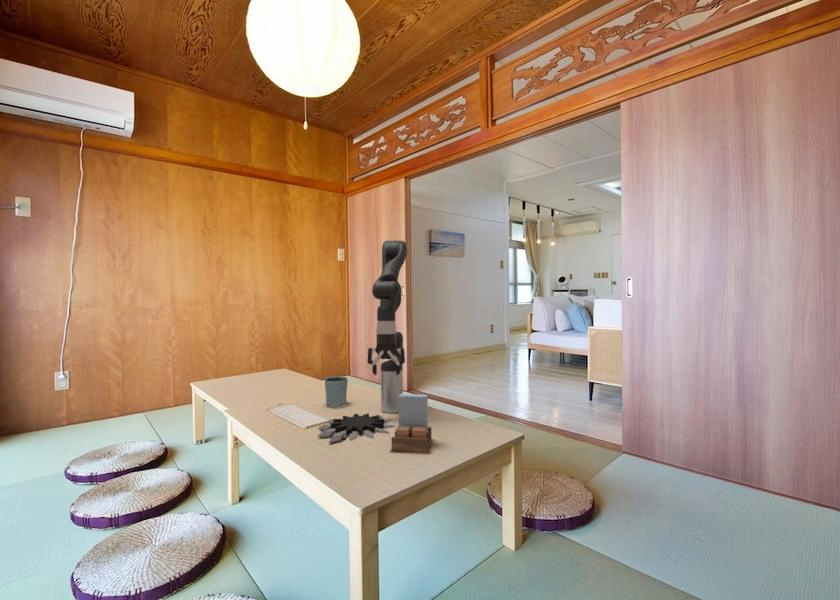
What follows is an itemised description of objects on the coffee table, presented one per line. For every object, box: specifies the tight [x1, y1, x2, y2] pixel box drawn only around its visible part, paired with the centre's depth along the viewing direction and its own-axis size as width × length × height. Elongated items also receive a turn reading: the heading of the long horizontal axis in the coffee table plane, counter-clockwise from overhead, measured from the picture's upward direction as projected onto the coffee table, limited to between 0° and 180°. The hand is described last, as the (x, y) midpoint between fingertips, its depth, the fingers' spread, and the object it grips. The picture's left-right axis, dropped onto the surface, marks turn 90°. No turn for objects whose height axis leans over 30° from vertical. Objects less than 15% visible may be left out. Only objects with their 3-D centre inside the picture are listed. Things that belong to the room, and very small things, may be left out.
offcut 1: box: [395, 426, 410, 437], centre depth 119 cm, size 3×4×6 cm
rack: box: [389, 425, 434, 455], centre depth 121 cm, size 12×12×6 cm
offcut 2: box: [412, 427, 426, 438], centre depth 118 cm, size 3×4×6 cm
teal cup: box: [324, 376, 349, 409], centre depth 171 cm, size 10×10×12 cm
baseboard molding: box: [266, 403, 330, 430], centre depth 155 cm, size 31×3×12 cm
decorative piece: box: [317, 412, 396, 444], centre depth 138 cm, size 30×4×30 cm
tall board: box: [398, 393, 429, 432], centre depth 123 cm, size 3×9×15 cm, turn 82°
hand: (386, 374), depth 148 cm, fingers open, 8 cm apart
